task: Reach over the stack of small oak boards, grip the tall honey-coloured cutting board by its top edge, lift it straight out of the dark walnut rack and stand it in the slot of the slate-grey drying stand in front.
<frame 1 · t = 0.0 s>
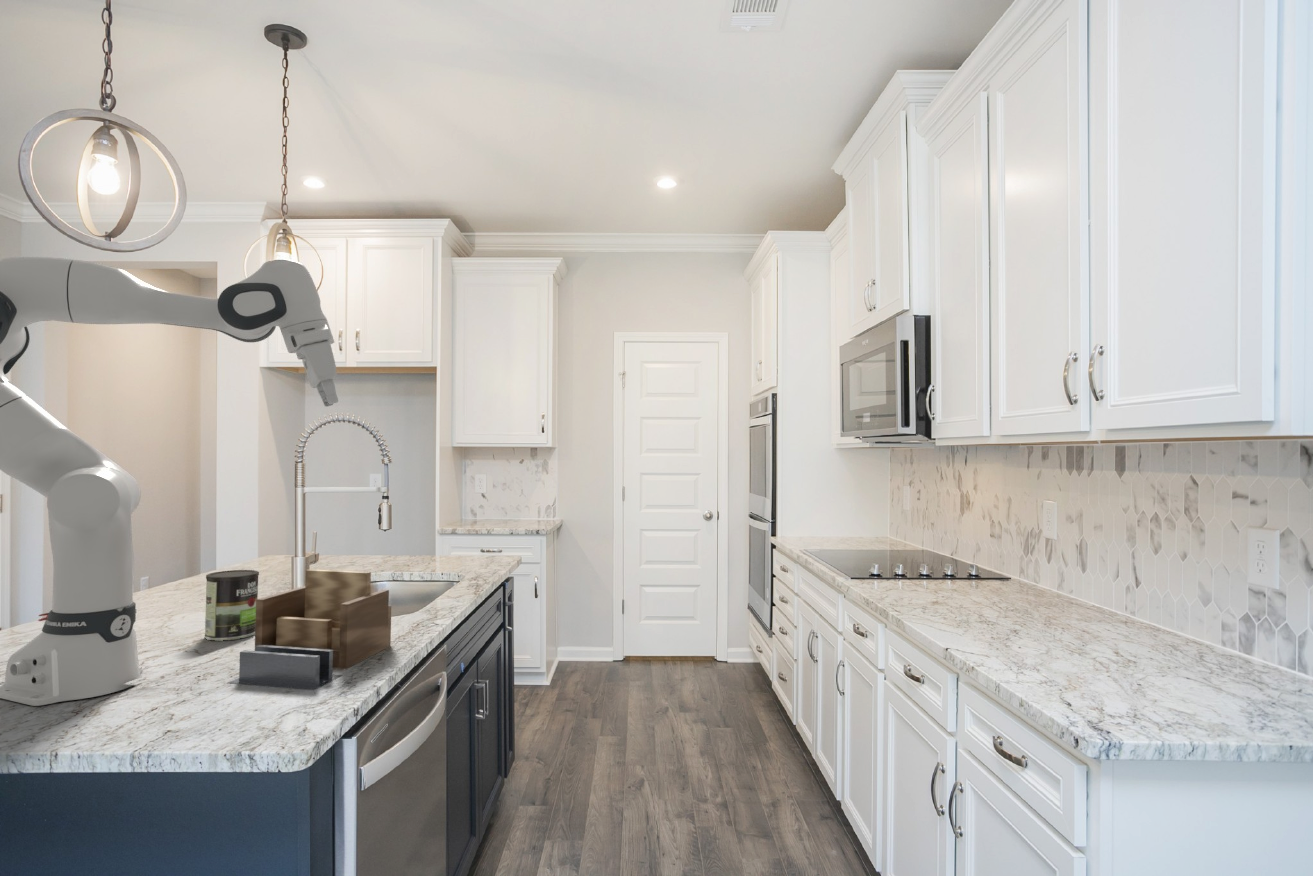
hand: (331, 404, 140), 52 cm above the countertop, tool tilted 20°, fingers open, 8 cm apart
cutting board: (336, 648, 140), point 1 cm above the countertop, touching board rack
small boards: (315, 658, 133), point 1 cm above the countertop, touching board rack
coffee can: (231, 636, 155), on the countertop
drying stand: (285, 687, 121), on the countertop
board rack: (324, 661, 136), on the countertop
flask: (310, 637, 155), on the countertop
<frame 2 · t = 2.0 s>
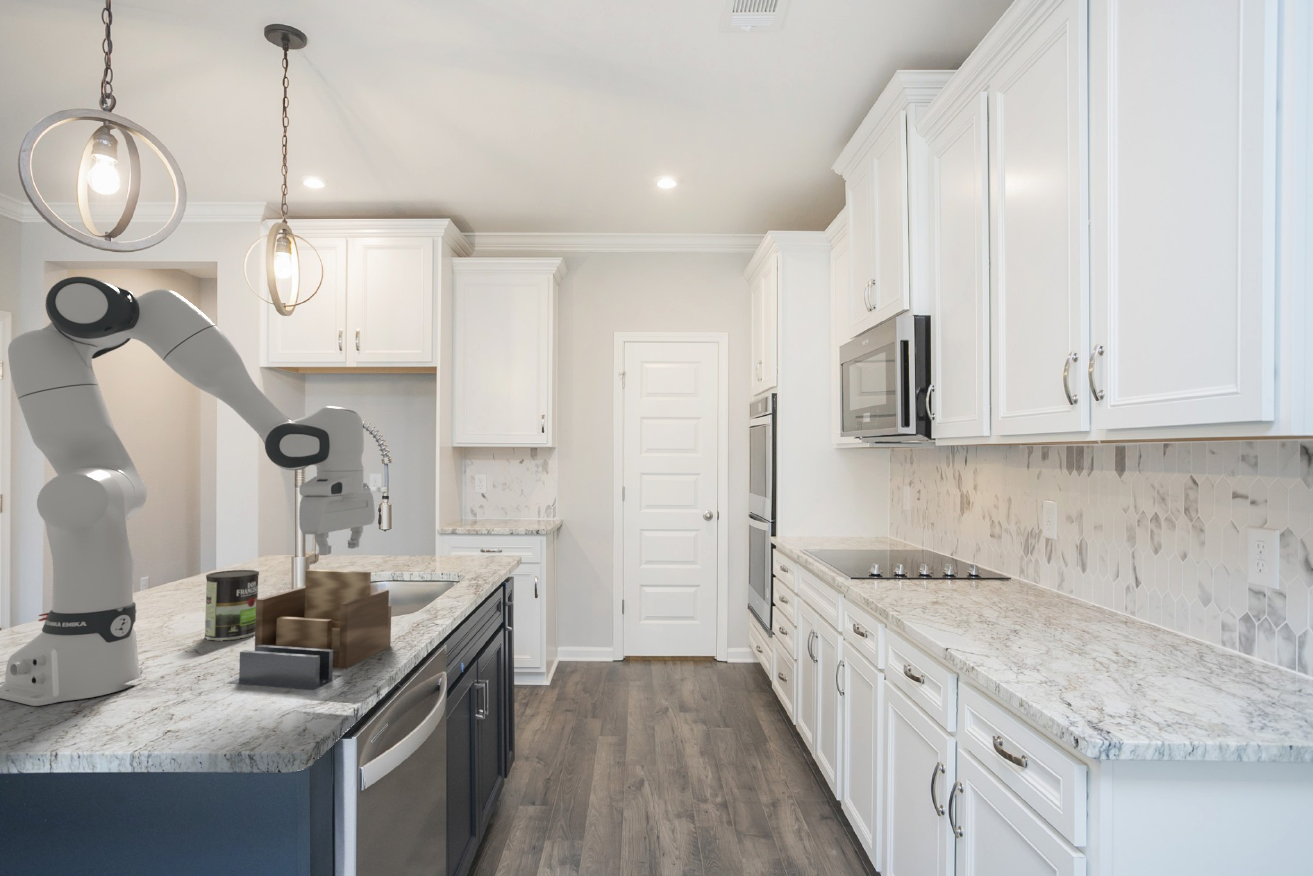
hand: (339, 551, 140), 22 cm above the countertop, tool pointing down, fingers open, 8 cm apart
nothing on the countertop moved.
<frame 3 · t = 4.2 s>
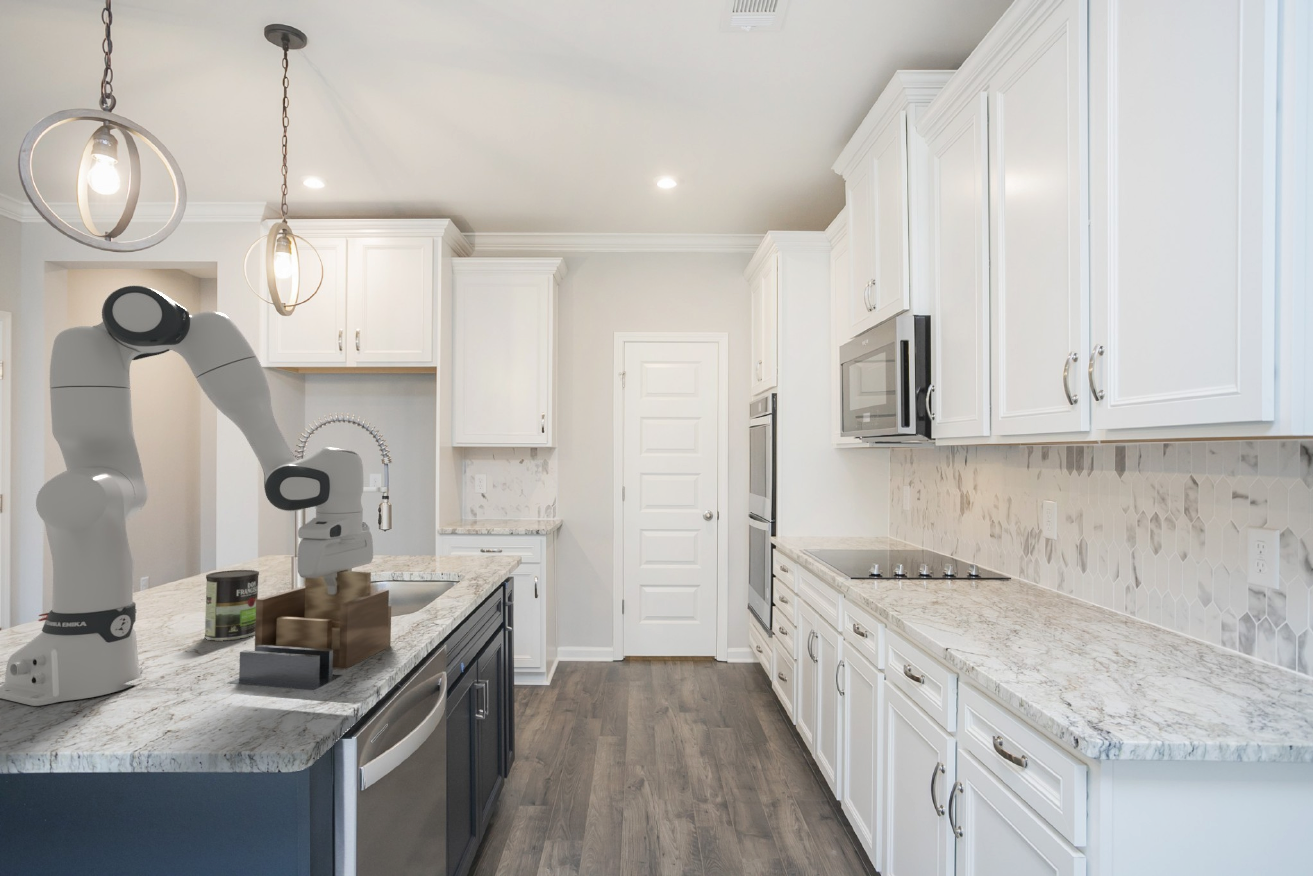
hand: (337, 592, 140), 13 cm above the countertop, tool pointing down, fingers closed on cutting board, 1 cm apart
cutting board: (336, 648, 140), point 2 cm above the countertop, touching gripper
everything else where it was.
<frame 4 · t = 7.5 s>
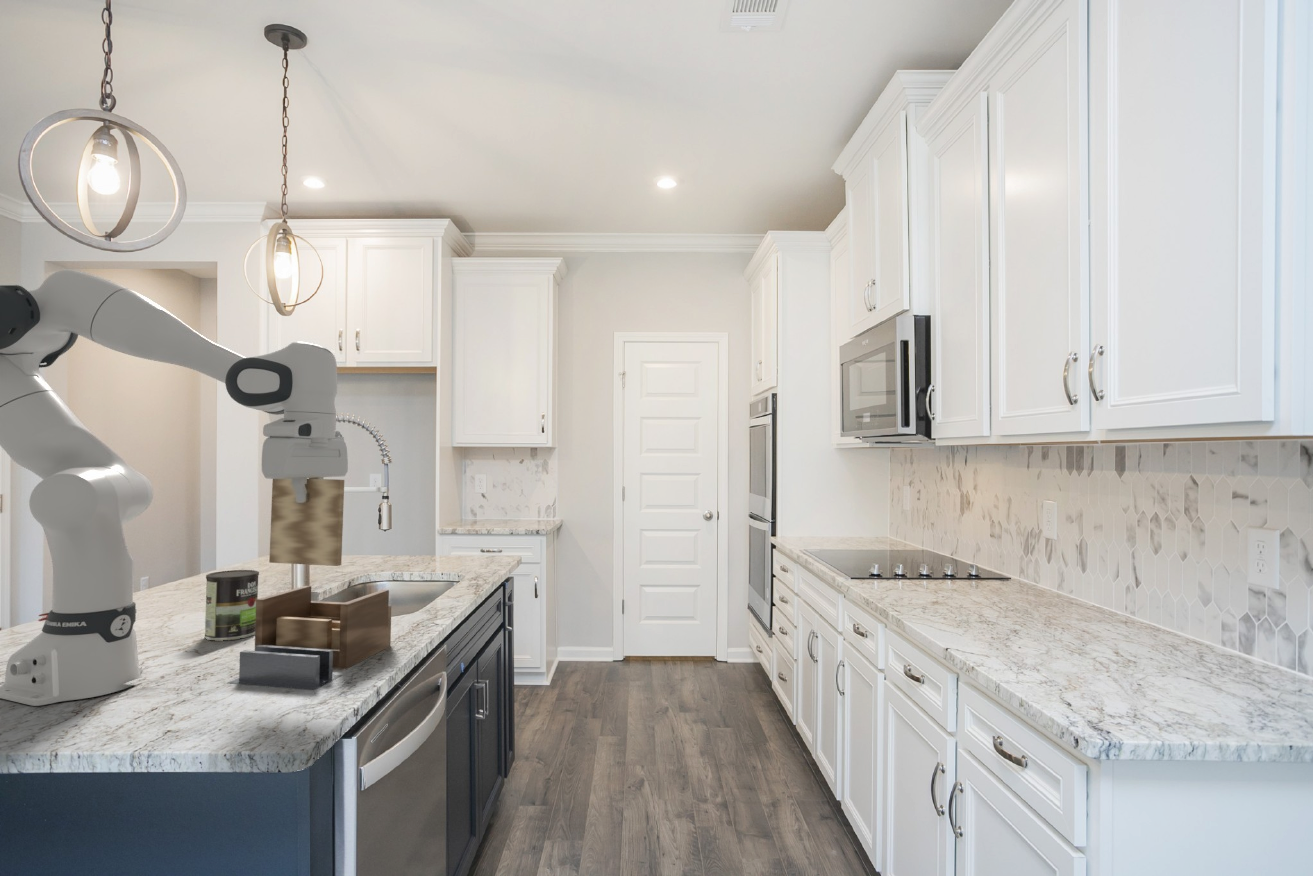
hand: (307, 502, 128), 33 cm above the countertop, tool pointing down, fingers closed on cutting board
cutting board: (305, 563, 127), point 21 cm above the countertop, touching gripper
everything else where it was.
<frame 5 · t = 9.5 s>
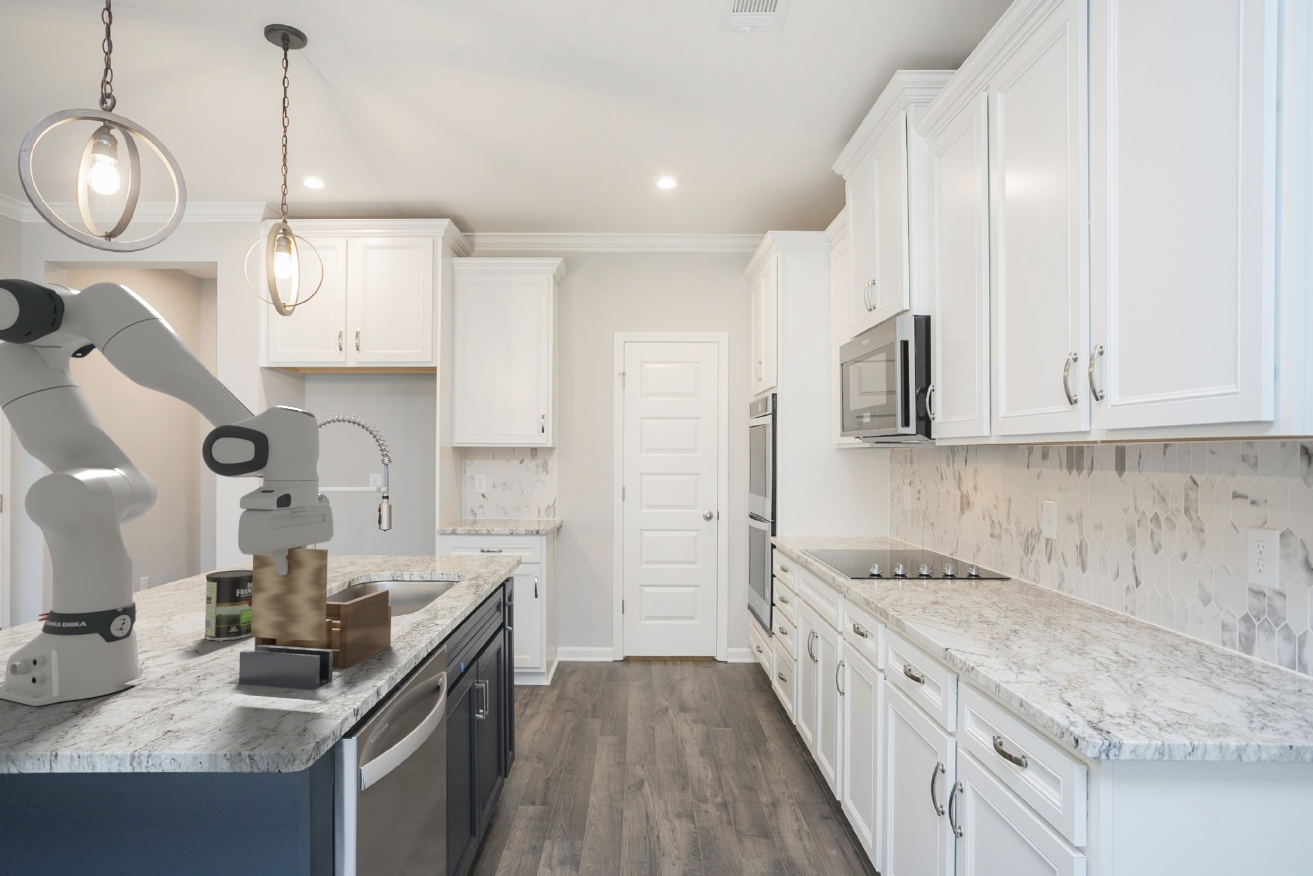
hand: (289, 573, 122), 20 cm above the countertop, tool pointing down, fingers closed on cutting board
cutting board: (288, 638, 121), point 9 cm above the countertop, touching gripper
everything else where it was.
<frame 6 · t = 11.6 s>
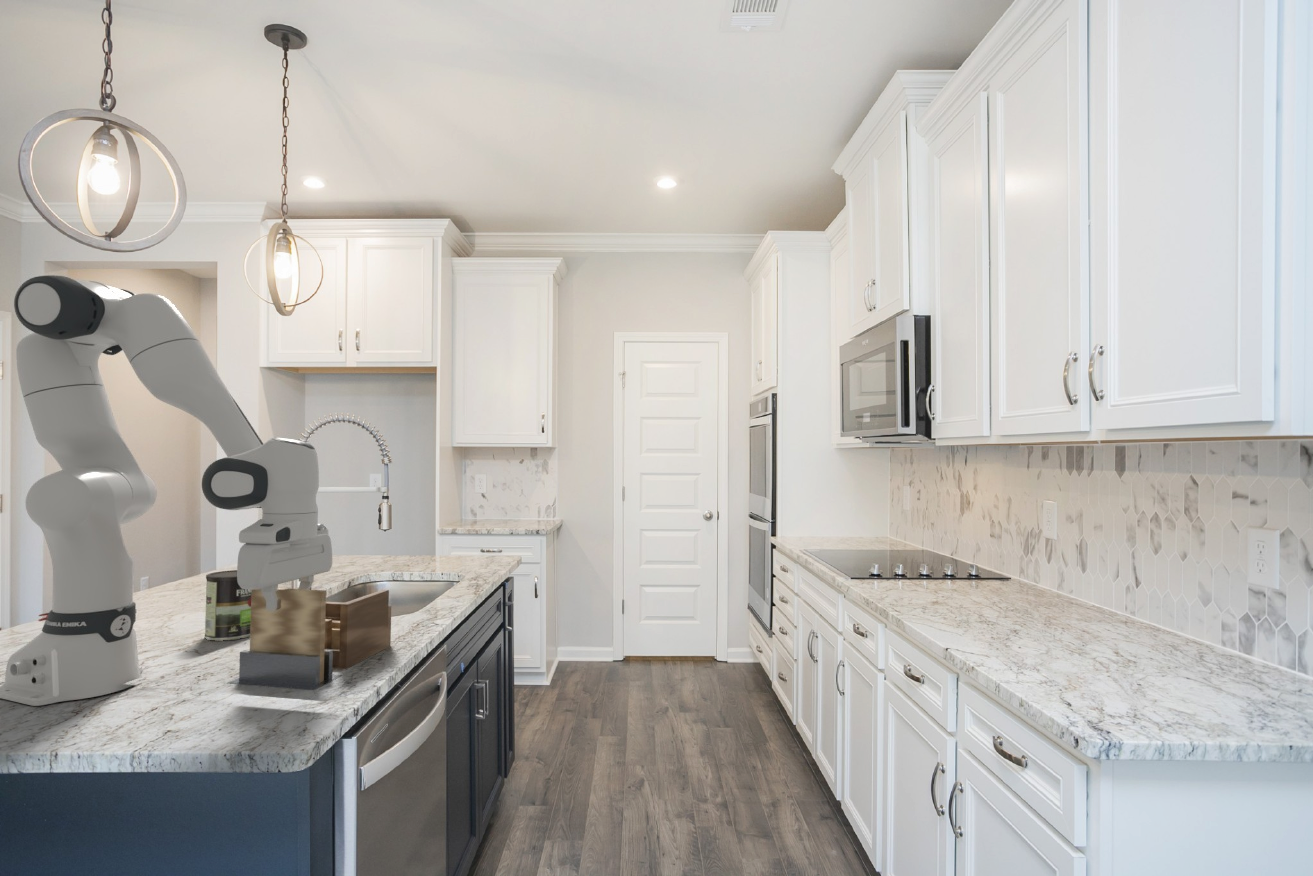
hand: (287, 605, 121), 15 cm above the countertop, tool pointing down, fingers open, 6 cm apart
cutting board: (286, 679, 121), point 1 cm above the countertop, touching drying stand
everything else where it was.
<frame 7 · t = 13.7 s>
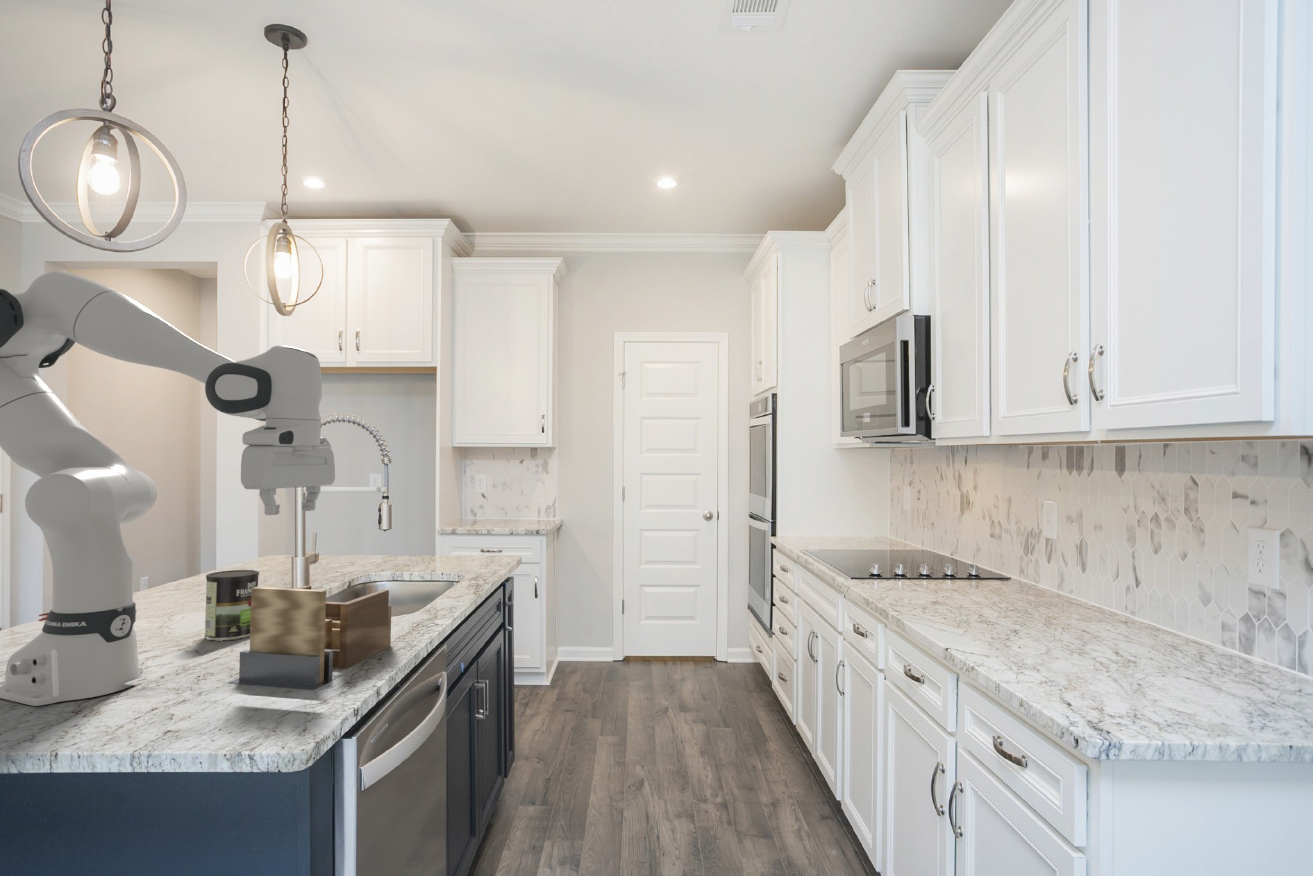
hand: (290, 512, 122), 31 cm above the countertop, tool pointing down, fingers open, 8 cm apart
nothing on the countertop moved.
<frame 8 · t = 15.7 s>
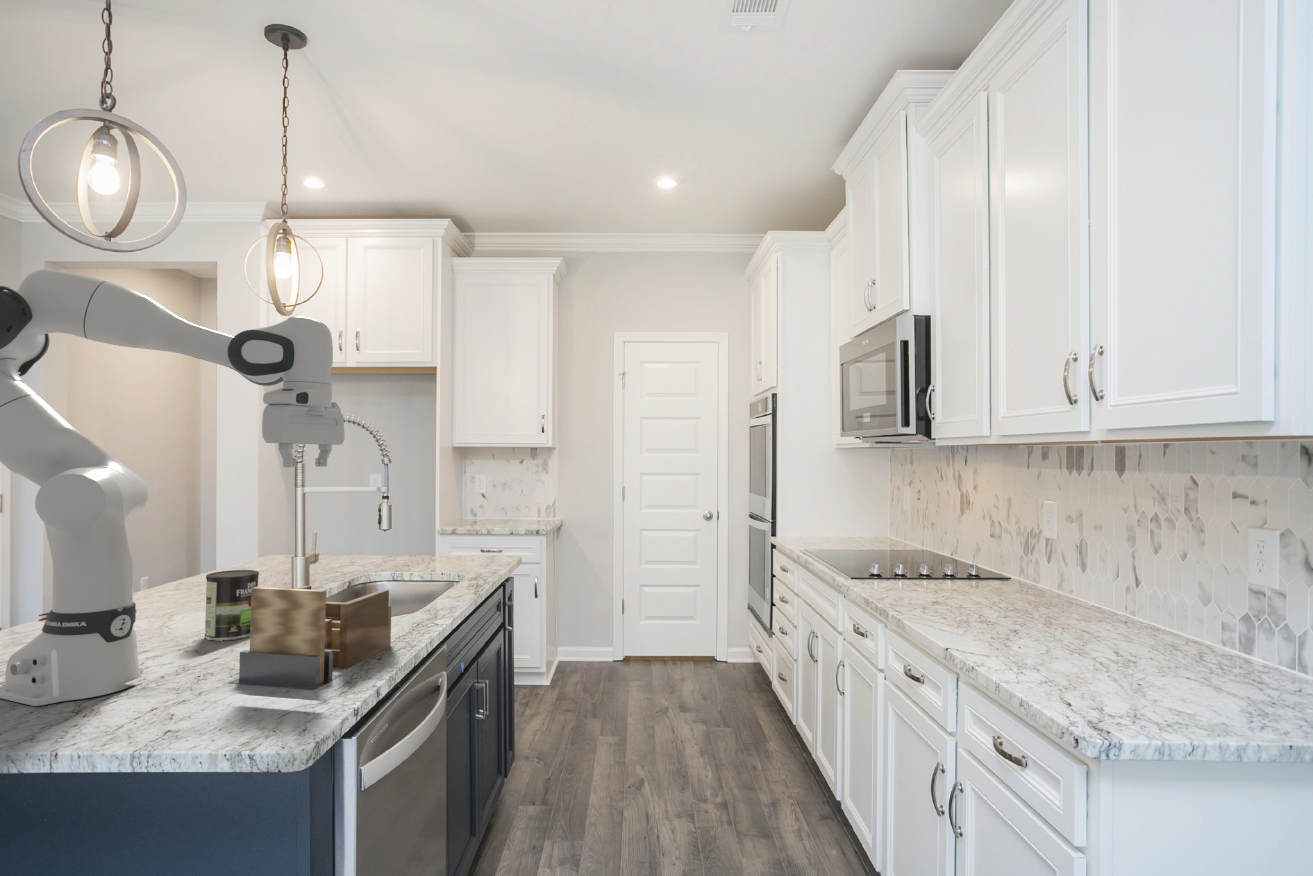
hand: (305, 467, 136), 39 cm above the countertop, tool pointing down, fingers open, 8 cm apart
nothing on the countertop moved.
at the end: cutting board 0.0 cm off-centre on the drying stand, point 1.5 cm above the drying stand's base; cutting board tilted 0°; small boards moved 0.0 cm from its start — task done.
